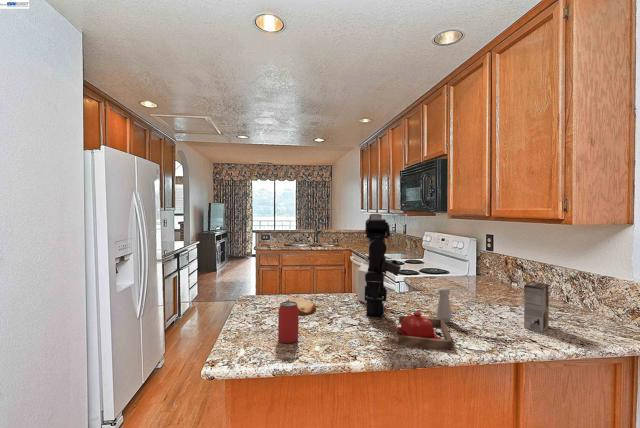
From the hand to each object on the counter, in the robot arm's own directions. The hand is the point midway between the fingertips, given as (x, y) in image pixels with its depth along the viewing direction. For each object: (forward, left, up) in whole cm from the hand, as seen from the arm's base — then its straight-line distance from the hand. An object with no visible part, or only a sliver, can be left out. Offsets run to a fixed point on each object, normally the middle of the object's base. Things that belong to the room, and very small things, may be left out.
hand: (376, 296), depth 114 cm
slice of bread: (-35, +17, -13) cm, 41 cm away
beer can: (-27, -18, -12) cm, 35 cm away
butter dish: (+14, -2, -12) cm, 19 cm away
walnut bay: (+16, 0, -12) cm, 20 cm away
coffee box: (+58, +20, -12) cm, 63 cm away
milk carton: (-7, +37, -12) cm, 40 cm away
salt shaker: (+25, +17, -12) cm, 33 cm away
